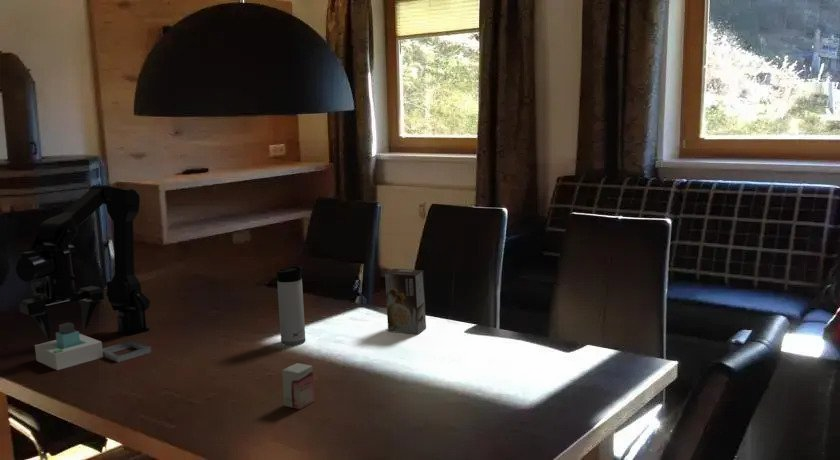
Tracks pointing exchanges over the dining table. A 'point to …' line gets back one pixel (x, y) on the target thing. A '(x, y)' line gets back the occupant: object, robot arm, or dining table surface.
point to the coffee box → (405, 301)
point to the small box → (298, 385)
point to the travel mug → (291, 306)
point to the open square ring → (118, 358)
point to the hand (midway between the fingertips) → (66, 333)
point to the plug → (67, 336)
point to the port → (68, 353)
